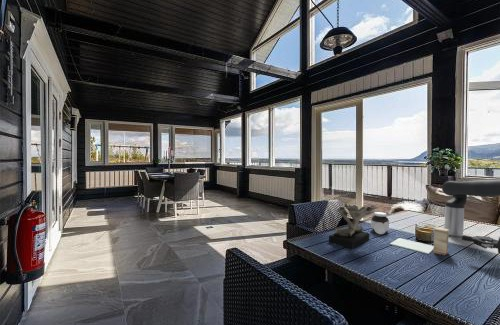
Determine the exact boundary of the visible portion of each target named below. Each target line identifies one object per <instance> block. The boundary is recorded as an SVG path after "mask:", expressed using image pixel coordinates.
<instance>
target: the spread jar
mask: <svg viewBox="0 0 500 325" xmlns="http://www.w3.org/2000/svg"><path fill="white" fill-rule="evenodd" d="M373 214H374V215H372V217H371V219H370V227H371V230H372V231H374V232H375V233H376V234H378V235H384V234H385V233H387V232H388V231H389V229H390V220H389V218H388V216H387V213H386V212H381V211H374V212H373Z"/></svg>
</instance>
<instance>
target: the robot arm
mask: <svg viewBox="0 0 500 325" xmlns="http://www.w3.org/2000/svg"><path fill="white" fill-rule="evenodd" d="M441 190H442V192H443V194H445V195H447V196H449V197H451V198H450V199H449V200H446V201H445V210H444V211H445V212H444V228H443V229H449V236H451V237H461V239H462V241H466V242H470V243H473V245H475V246H478V247H480V248H484V249H497V253H498V254H500V236H499V237H498V239H495V238H494V237H493V238H492V237H490V236H482V235H475V236H474V235H473V236H470V235H465V234H464V223H465V206H466V204H467V198H468V196H472V197H478V198H479V197H481V198H496V197H500V179H477V180H476V179H475V180H469V181H468V180H467V181H462V180H447V181H445V182H444V183H443V184H442V186H441Z"/></svg>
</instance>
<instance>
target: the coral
mask: <svg viewBox="0 0 500 325" xmlns="http://www.w3.org/2000/svg"><path fill="white" fill-rule="evenodd" d="M377 208H378V207H377V206H376V205H372V204H371V205H370V206H367V207H366V206H362V207H360V208H359V207H358V205H355V204H353V205H351V204H347V203H344V205H343V206H341V207H339V208H337V211H338V213H339V214H340V216H341V217H342V218H343V219H344V220H345V221H346V223H347V227H346V228H335V230H334V233H333V234H330V235H329V236H328V243H330V244H334V245H338V246H340V247H344V248H347V249H350V250H352V249H355V248H357V247H358V246H360V245H362V244H363V243H365V242H367V241H369V240H370V233H369V232H365V231H363V230H364V229H363V227H362V225H359V222H360V221H361V220H362V219H364V217H366V216H369V215H370V216H371V215H372V214H374V212H375V210H376V209H377ZM348 213H349V215H350V217H351V218H352V221H351V219H350V218H349V217H348Z"/></svg>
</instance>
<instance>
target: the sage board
mask: <svg viewBox="0 0 500 325" xmlns="http://www.w3.org/2000/svg"><path fill="white" fill-rule="evenodd" d="M389 245H391V246H394V247H399V248H403V249H407V250H411V251H414V252H417V253H418V252H419V253H422V254H426V255H430V254H431V253H432V252H433V250H434V245H432V244H426V243H423V242H417V241H413V240H409V239H405V238H401V237H399V238H397V239H395V240H393V241H392V242H390V243H389Z"/></svg>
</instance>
